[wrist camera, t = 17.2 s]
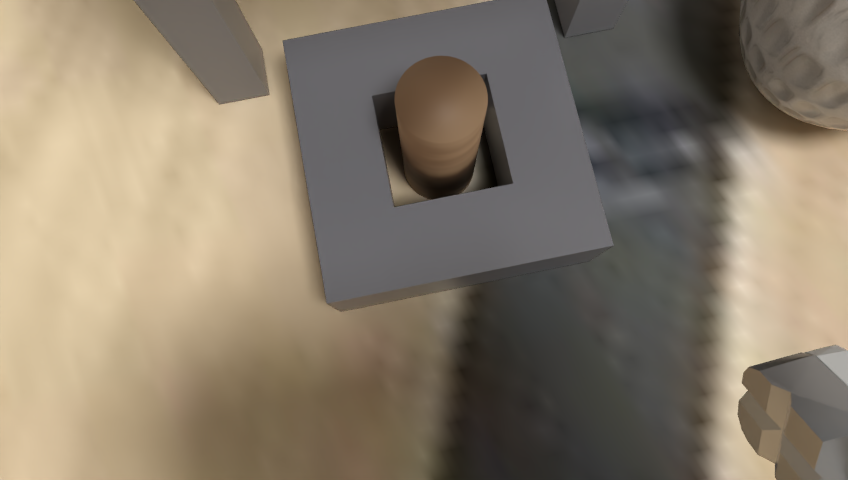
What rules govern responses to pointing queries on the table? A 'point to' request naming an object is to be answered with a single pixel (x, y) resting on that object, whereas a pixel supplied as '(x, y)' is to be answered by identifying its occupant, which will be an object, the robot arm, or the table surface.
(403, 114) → the peg
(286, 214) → the table surface
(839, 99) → the vase
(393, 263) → the socket station
